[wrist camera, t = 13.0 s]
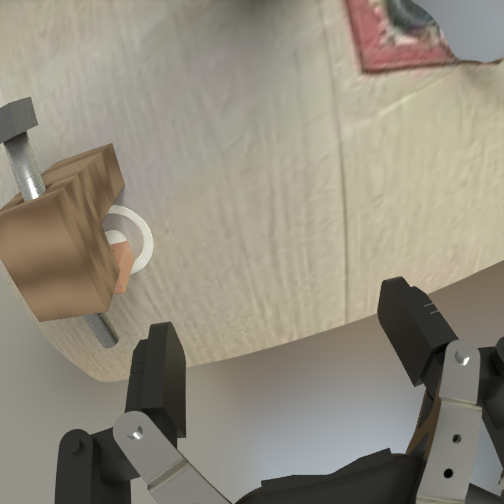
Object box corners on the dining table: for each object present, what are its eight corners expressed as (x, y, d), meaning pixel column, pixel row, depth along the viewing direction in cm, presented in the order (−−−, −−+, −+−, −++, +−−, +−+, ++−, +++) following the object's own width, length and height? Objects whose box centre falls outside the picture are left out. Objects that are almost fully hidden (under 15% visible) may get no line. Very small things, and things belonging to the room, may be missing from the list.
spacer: (83, 251, 40) (67, 282, 34) (127, 240, 40) (115, 272, 34) (91, 268, 41) (78, 300, 35) (134, 258, 41) (125, 292, 36)
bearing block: (55, 162, 36) (-16, 225, 21) (112, 143, 36) (53, 198, 21) (84, 236, 42) (39, 321, 28) (137, 223, 43) (107, 311, 28)
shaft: (5, 110, 21) (-18, 119, 18) (30, 96, 21) (8, 103, 18) (101, 330, 37) (95, 353, 34) (124, 327, 37) (119, 351, 34)
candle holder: (116, 186, 40) (107, 199, 36) (170, 246, 46) (167, 262, 42) (65, 234, 42) (54, 249, 39) (117, 284, 48) (111, 302, 45)
